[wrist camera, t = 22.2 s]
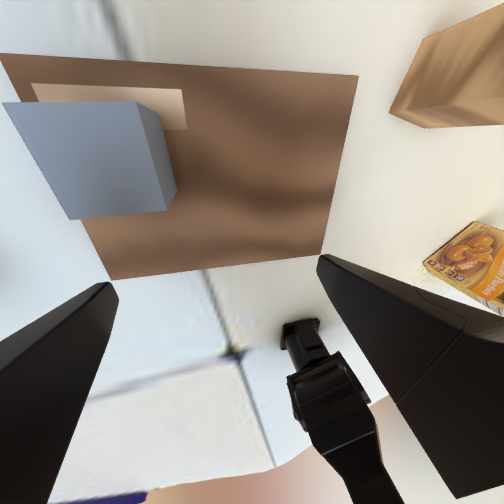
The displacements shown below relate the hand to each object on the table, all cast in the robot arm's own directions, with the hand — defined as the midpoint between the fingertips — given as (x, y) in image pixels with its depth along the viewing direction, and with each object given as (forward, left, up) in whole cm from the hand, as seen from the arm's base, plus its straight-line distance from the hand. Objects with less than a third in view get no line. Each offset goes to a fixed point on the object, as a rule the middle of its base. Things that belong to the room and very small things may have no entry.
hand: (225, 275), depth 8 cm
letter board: (+1, -1, -12) cm, 12 cm away
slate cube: (+4, +6, -11) cm, 13 cm away
